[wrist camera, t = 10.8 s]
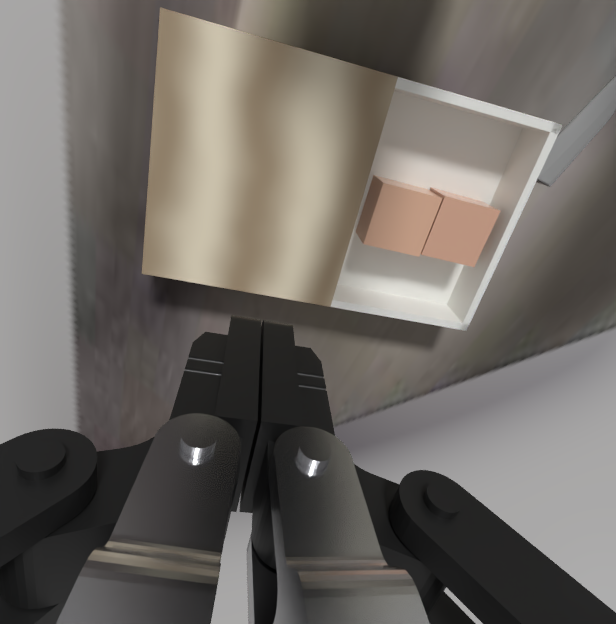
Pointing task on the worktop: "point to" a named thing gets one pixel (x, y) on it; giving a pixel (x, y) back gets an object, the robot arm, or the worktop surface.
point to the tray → (451, 178)
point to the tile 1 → (397, 216)
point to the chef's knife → (579, 133)
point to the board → (256, 160)
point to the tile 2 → (459, 229)
